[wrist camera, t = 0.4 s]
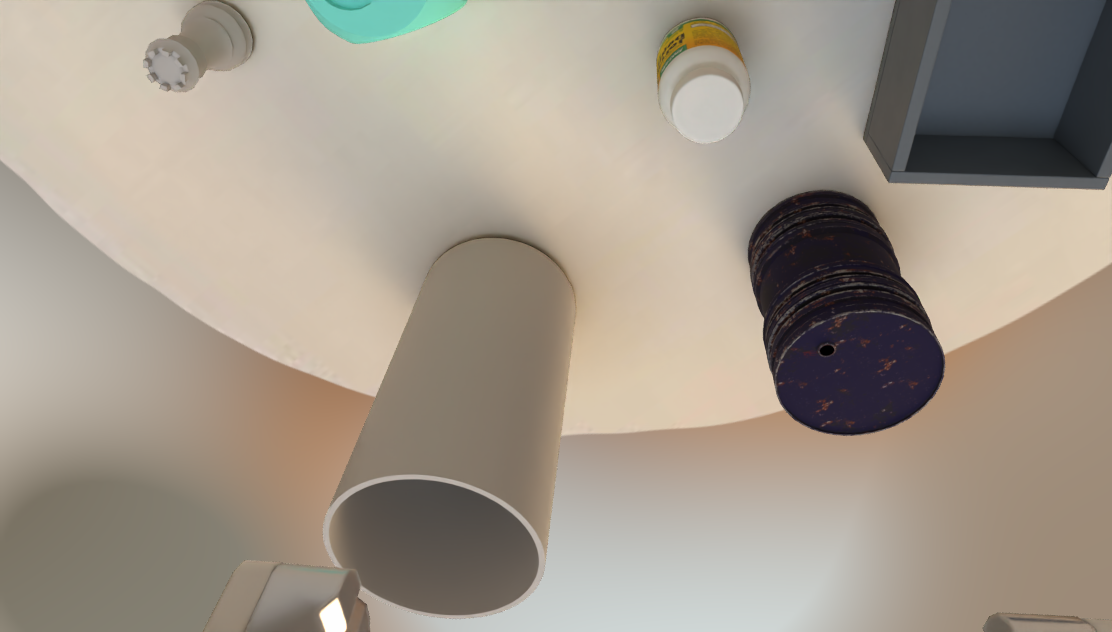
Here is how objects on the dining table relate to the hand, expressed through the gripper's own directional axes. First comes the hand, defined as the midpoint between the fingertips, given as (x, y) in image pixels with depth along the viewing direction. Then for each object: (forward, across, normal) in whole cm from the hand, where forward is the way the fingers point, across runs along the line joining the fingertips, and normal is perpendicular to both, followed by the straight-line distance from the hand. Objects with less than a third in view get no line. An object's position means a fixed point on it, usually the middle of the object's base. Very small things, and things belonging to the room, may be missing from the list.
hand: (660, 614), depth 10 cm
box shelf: (+46, -22, +4) cm, 51 cm away
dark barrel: (+46, -14, +21) cm, 52 cm away
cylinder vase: (+46, +10, +26) cm, 54 cm away
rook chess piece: (+46, +28, +5) cm, 54 cm away
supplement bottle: (+46, -4, +6) cm, 46 cm away
